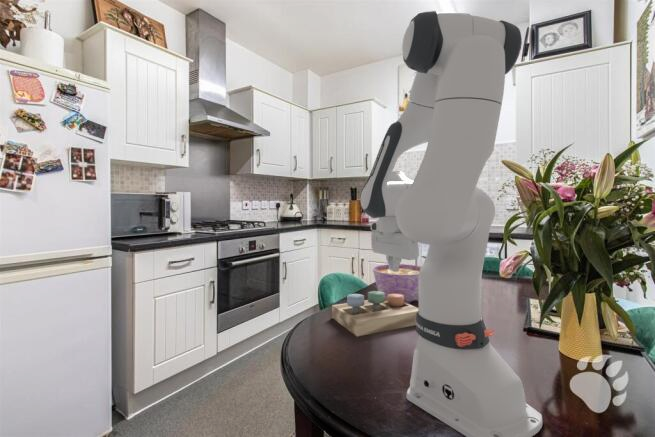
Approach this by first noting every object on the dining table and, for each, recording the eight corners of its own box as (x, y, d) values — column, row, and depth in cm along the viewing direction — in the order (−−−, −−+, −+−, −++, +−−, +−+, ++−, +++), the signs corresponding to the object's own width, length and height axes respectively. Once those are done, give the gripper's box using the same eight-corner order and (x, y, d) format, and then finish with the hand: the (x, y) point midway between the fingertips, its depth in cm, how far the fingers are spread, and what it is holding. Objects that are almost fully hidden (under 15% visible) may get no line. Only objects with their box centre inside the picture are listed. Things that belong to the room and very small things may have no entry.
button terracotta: (407, 315, 101) (407, 296, 101) (393, 318, 99) (393, 298, 99) (397, 311, 105) (397, 292, 105) (384, 313, 103) (384, 294, 103)
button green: (387, 313, 98) (387, 294, 98) (373, 316, 96) (373, 296, 96) (378, 309, 103) (378, 290, 102) (364, 311, 101) (364, 292, 100)
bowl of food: (409, 291, 132) (409, 262, 132) (441, 305, 113) (441, 272, 113) (363, 296, 126) (363, 266, 126) (389, 312, 107) (389, 276, 107)
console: (423, 323, 96) (423, 310, 96) (357, 336, 88) (356, 321, 88) (391, 308, 111) (391, 296, 111) (332, 317, 102) (332, 305, 102)
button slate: (367, 317, 95) (367, 297, 95) (352, 319, 93) (352, 299, 93) (359, 312, 100) (358, 293, 100) (344, 314, 98) (344, 295, 98)
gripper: (424, 226, 92) (424, 275, 93) (383, 223, 111) (384, 264, 112) (405, 227, 90) (406, 278, 90) (367, 224, 109) (368, 266, 109)
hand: (393, 270), depth 101 cm, fingers closed
